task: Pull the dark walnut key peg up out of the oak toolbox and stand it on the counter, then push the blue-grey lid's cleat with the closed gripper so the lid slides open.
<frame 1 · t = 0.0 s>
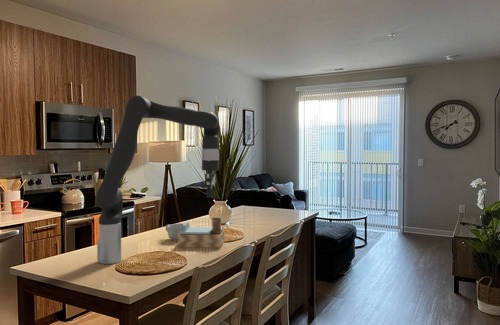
hand: (210, 196, 163), 29 cm above the kitchen island, fingers open, 8 cm apart
key: (216, 244, 193), point 1 cm above the kitchen island, touching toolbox
lid: (196, 227, 193), point 9 cm above the kitchen island, slide at 0.0 cm
teacup: (175, 239, 207), on the kitchen island
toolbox: (202, 245, 193), on the kitchen island
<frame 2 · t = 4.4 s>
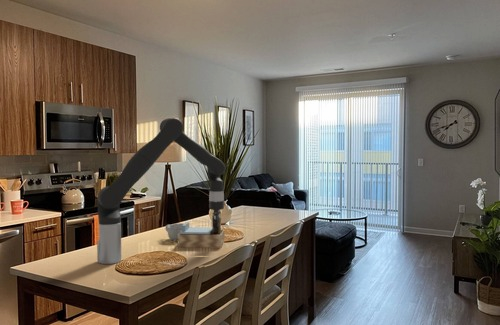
hand: (216, 232, 193), 7 cm above the kitchen island, fingers closed on key, 4 cm apart
key: (216, 244, 193), point 1 cm above the kitchen island, touching gripper, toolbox
everything else where it was.
when the fingers open (7 cm above the kitchen island, at t = 10.6 s): key drops 1 cm, on the kitchen island.
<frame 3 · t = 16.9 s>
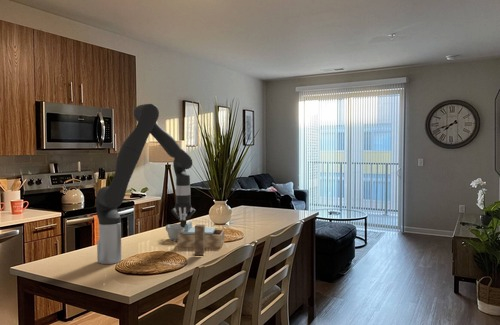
hand: (183, 227, 194), 9 cm above the kitchen island, fingers closed
key: (199, 254, 176), on the kitchen island
lid: (199, 227, 193), point 9 cm above the kitchen island, slide at 1.4 cm, touching gripper
everything else where it was.
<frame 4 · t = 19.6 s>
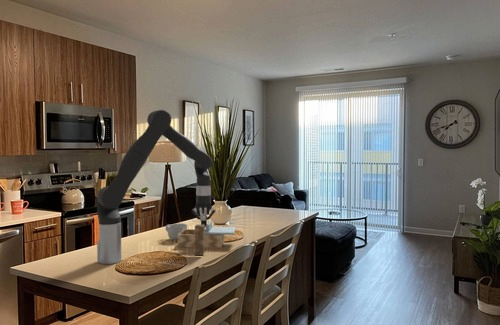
hand: (203, 227, 193), 9 cm above the kitchen island, fingers closed
lid: (220, 227, 193), point 9 cm above the kitchen island, slide at 12.1 cm, touching gripper
everything else where it was.
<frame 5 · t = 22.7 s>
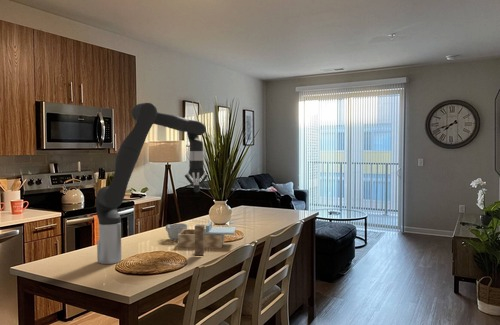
hand: (196, 192, 200), 27 cm above the kitchen island, fingers closed
lid: (220, 227, 193), point 9 cm above the kitchen island, slide at 12.1 cm
everything else where it was.
at the end: lid slide at 12.1 cm; key inside the target area (0.0 cm from its centre), on the kitchen island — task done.
